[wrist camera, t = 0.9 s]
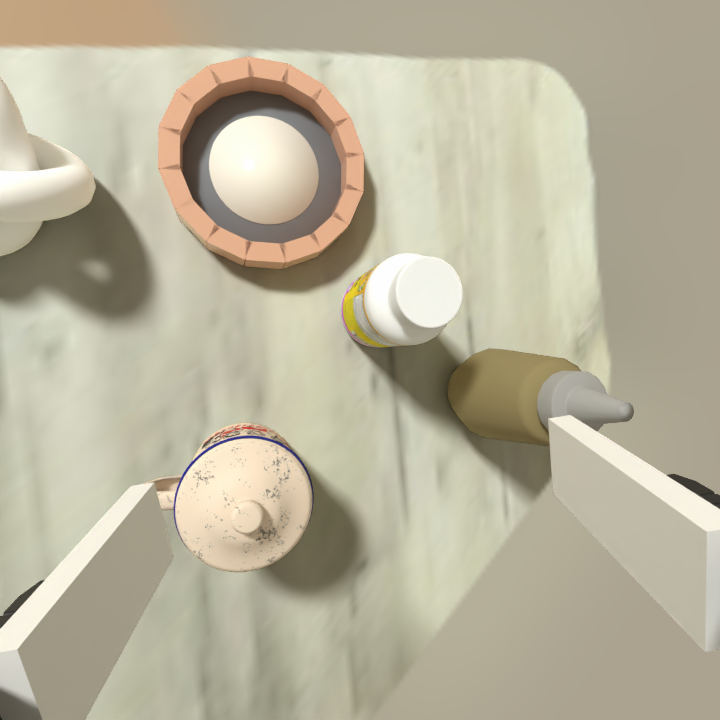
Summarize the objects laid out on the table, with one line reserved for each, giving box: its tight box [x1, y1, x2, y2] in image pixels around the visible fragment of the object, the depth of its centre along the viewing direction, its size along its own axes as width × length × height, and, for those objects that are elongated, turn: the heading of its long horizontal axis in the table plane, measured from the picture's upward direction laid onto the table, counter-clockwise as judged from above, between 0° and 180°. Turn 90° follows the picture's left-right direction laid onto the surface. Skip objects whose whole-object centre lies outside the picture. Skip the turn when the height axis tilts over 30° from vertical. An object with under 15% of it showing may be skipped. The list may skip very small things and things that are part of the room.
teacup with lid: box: [144, 423, 313, 572], centre depth 33 cm, size 12×9×12 cm
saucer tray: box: [158, 57, 364, 269], centre depth 38 cm, size 16×16×3 cm
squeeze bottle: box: [447, 349, 634, 446], centre depth 36 cm, size 8×8×18 cm
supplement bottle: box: [341, 253, 463, 347], centre depth 36 cm, size 7×7×13 cm
